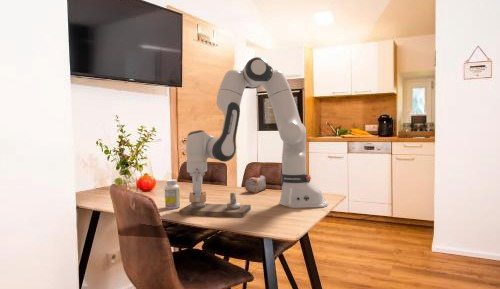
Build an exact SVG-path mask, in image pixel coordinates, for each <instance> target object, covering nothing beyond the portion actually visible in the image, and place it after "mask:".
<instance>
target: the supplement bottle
mask: <svg viewBox="0 0 500 289" xmlns="http://www.w3.org/2000/svg"><path fill="white" fill-rule="evenodd" d="M177 183H178V180H177V179H173V178H172V179H167V180H166V185H165V187H164V204H165V209H168V210H174V209H179V208H180V207H181V198H180V185H178V184H177Z"/></svg>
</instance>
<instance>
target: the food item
mask: <svg viewBox="0 0 500 289" xmlns="http://www.w3.org/2000/svg"><path fill="white" fill-rule="evenodd" d="M266 180H267V179H266V176H264V175H260V174H258V173H256V174H253V173H251V177H249V178H248V179H246V181H245V182H244V183H245V191H246V192H248V193H251V194H258V193H259V192H262V191H264V190H266V189H267V183H266Z"/></svg>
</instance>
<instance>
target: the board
mask: <svg viewBox="0 0 500 289" xmlns="http://www.w3.org/2000/svg"><path fill="white" fill-rule="evenodd" d="M201 192H202V191H201ZM201 192H200V194H201ZM229 196H230V197H229V198H230V199H229V200H230V202H227V203H206V202H190V204H187V205H186V206H184V207H183V208H180V209H179V210H178V215H179V216H193V217H195V216H197V217H200V216H201V217H225V218H226V217H227V218H245V216H246V215H247V214H248V213H249V212H250V210H252V206H251V204H241V203H240V202H238V201H237V193H236V192H230V194H229Z"/></svg>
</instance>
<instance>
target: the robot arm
mask: <svg viewBox="0 0 500 289" xmlns="http://www.w3.org/2000/svg"><path fill="white" fill-rule="evenodd" d="M260 86H262V87H263V89H265V91H266V94H267V97H268V100H269V103H270V106H271V109H272V112H273V114H274V119H275V124H276V128H277V131H278V133H279V134H278V135H279V137H280V139H281V141H282V152H281V153H282V154H281V170H282V171H281V176H280V182H281V183H280V184H281V194H280V199H279V202H278V203H279V205H282V206H283V207H284V206H285V207H288V208H293V209H296V208H298V209H299V208H301V209H303V208H326V207H327V206H328V205H329V201H328V200H327V199H324V195H323V192H322V189H321V188H319V187H318V186H316V185H315V184H314V183H313V182H311V179H312V176H311V175H310V174H309V173H307V170H306V167H307V166H306V164H307V162H306V160H307V159H306V158H307V157H306V156H307V155H306V154H307V128H306V126H305V125H304V124H303V123H302V121H301V117H300V114H299V110H298V106H297V104H296V100H295V98H294V95H293V92H292V89H291V86H290V84H289V82H288V80H287V78H286V75H285V74H284V73H283V72H282V71H281V70H278V69H274V70H273V67H272V66H271V65H270V64H269V63H268V62H267V60H265V59H263V58H262V57H258V56H257V57H256V56H255V57H252V58H251V59H249V60H248V61H247V62H246V64H245V65H244V68H243V69H242V70H237V69H229V70H227V72H226V73H225V74H224V76H223V78H222V80H221V83H220V85H219V89H218V91H217V95H216V106H217V108H218V109H219V110H220V111H221V113H223V118H224V120H223V125H222V127H221V128H222V129H221V133H220V136H219V137H216V136H214V135H211V134H209V133H207V132H206V131H205V130H195V131H193V130H192V131H190V132H188V134H187V136H186V143H185V146H186V147H185V149H186V155H187V156H186V173H188V174H189V176H190V177H191V179H192V192H194V193H195V197H196V201H200V192H203V191H202V189H203V177H204V176H205V174H206V172H208V158H209V159H213V160H217V161H220V162H223V163H224V162H229V161H230V160H232V159H233V158H234V156H235V154H236V152H237V151H236V150H237V144H236V141H237V140H236V138H237V137H236V136H237V132H238V127H239V122H240V115H241V109H240V108H241V103H242V99H243V94H244V91H245V89H251V90H253V89H254V90H255V89H257V88H259V87H260Z"/></svg>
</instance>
